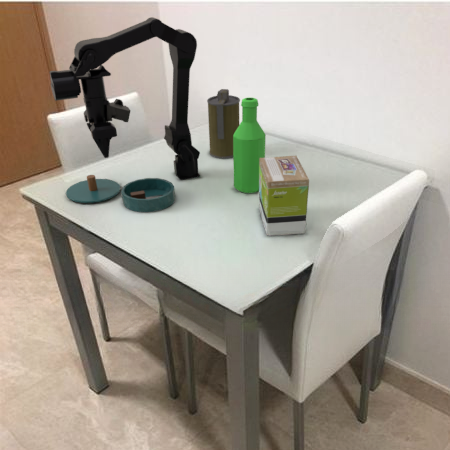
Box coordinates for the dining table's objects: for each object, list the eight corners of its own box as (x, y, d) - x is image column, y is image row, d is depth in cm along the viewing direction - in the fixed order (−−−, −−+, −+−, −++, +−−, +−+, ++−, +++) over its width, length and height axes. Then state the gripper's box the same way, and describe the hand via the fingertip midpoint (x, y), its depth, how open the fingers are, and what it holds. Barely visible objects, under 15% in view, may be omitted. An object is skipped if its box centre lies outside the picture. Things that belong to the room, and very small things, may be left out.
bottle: (267, 184, 146) (270, 95, 131) (259, 196, 140) (261, 104, 125) (238, 180, 149) (238, 93, 134) (229, 192, 142) (228, 102, 127)
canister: (213, 146, 172) (210, 85, 160) (242, 148, 170) (242, 86, 158) (206, 158, 164) (202, 95, 151) (236, 160, 162) (236, 96, 150)
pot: (167, 186, 146) (166, 174, 144) (180, 206, 135) (179, 194, 133) (119, 194, 143) (117, 182, 140) (128, 216, 132) (127, 203, 130)
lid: (115, 178, 151) (113, 162, 148) (125, 199, 140) (122, 182, 137) (64, 186, 147) (60, 170, 144) (69, 208, 136) (65, 191, 133)
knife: (162, 195, 141) (161, 187, 139) (164, 198, 139) (163, 190, 138) (131, 200, 138) (130, 192, 137) (132, 203, 137) (131, 195, 135)
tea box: (257, 209, 133) (258, 156, 124) (294, 207, 134) (297, 154, 125) (265, 236, 121) (267, 180, 113) (306, 234, 122) (311, 177, 113)
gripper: (132, 101, 124) (140, 161, 133) (119, 83, 138) (127, 139, 147) (87, 106, 121) (98, 167, 131) (78, 88, 135) (89, 144, 145)
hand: (104, 153), depth 138 cm, fingers open, 6 cm apart
